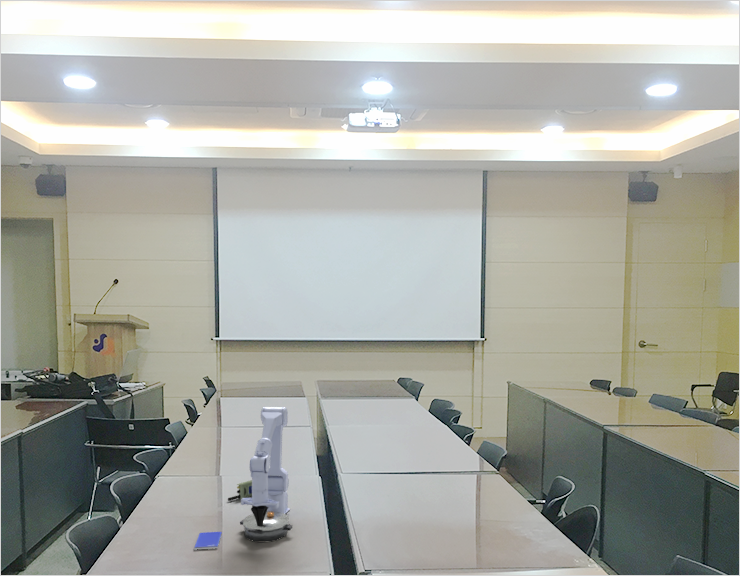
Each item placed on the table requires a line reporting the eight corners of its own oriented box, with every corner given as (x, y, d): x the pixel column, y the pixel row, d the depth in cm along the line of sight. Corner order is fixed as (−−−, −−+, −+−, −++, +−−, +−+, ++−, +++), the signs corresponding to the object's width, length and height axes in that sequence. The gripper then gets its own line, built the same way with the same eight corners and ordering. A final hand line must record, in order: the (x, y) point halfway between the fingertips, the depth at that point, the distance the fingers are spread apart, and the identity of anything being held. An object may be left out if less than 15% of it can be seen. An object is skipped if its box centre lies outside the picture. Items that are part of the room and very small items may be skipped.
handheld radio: (278, 489, 276) (230, 503, 259) (274, 487, 278) (226, 501, 261) (278, 474, 276) (230, 487, 259) (274, 473, 278) (226, 486, 261)
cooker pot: (253, 519, 241) (252, 509, 241) (300, 525, 235) (300, 515, 235) (231, 538, 224) (231, 527, 224) (282, 545, 218) (282, 534, 218)
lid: (255, 511, 239) (255, 506, 239) (295, 515, 235) (295, 510, 235) (233, 530, 222) (233, 524, 222) (276, 535, 217) (275, 529, 217)
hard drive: (217, 545, 216) (221, 531, 228) (194, 547, 215) (199, 532, 227) (217, 550, 216) (221, 535, 228) (194, 551, 215) (199, 536, 227)
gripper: (236, 490, 222) (237, 527, 222) (273, 494, 218) (273, 531, 218) (245, 484, 228) (246, 519, 229) (281, 487, 225) (281, 524, 225)
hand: (260, 525), depth 224 cm, fingers closed
